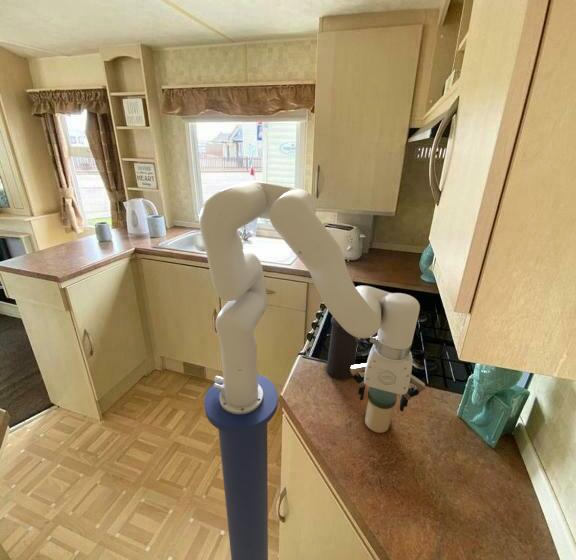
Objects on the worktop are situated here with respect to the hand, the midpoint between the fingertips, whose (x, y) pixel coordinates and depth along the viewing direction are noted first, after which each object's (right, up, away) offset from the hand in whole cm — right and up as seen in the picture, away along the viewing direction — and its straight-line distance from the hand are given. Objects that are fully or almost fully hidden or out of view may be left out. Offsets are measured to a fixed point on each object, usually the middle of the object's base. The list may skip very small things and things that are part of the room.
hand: (381, 401), depth 78 cm
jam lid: (0, +2, -1) cm, 2 cm away
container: (-7, +2, +21) cm, 22 cm away
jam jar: (0, -7, +3) cm, 7 cm away
